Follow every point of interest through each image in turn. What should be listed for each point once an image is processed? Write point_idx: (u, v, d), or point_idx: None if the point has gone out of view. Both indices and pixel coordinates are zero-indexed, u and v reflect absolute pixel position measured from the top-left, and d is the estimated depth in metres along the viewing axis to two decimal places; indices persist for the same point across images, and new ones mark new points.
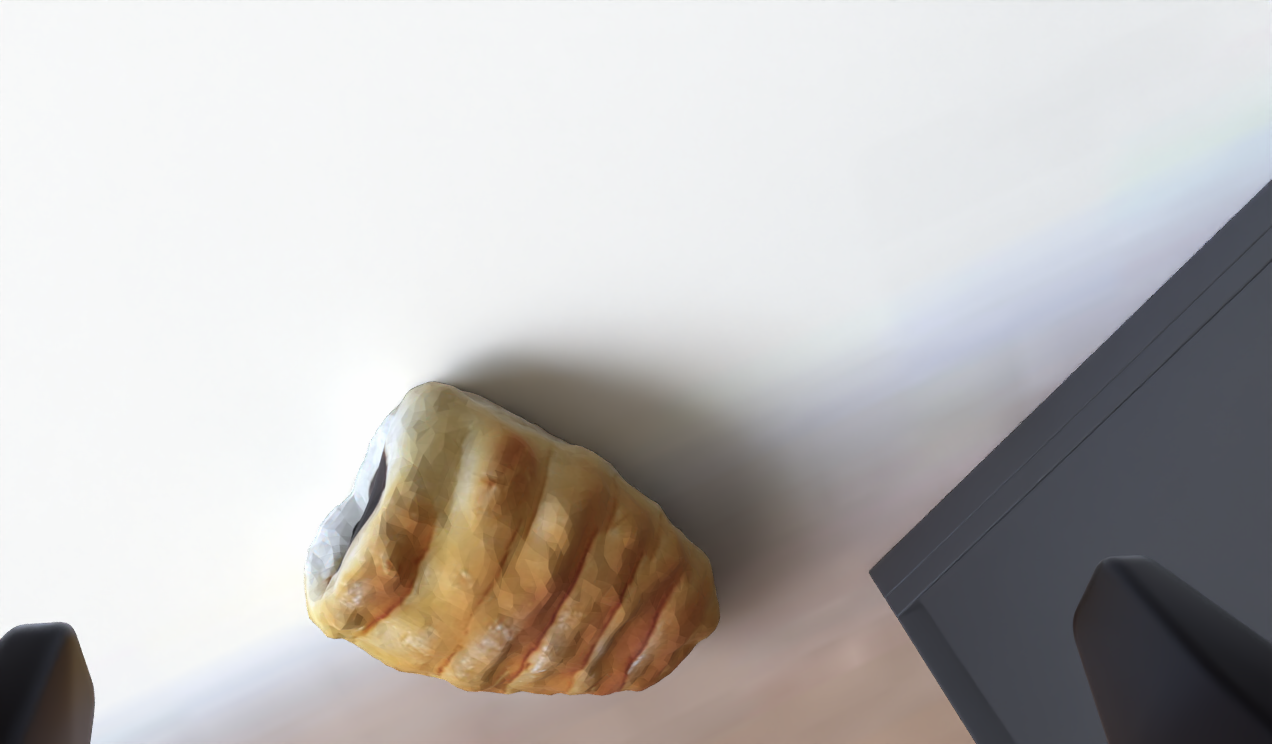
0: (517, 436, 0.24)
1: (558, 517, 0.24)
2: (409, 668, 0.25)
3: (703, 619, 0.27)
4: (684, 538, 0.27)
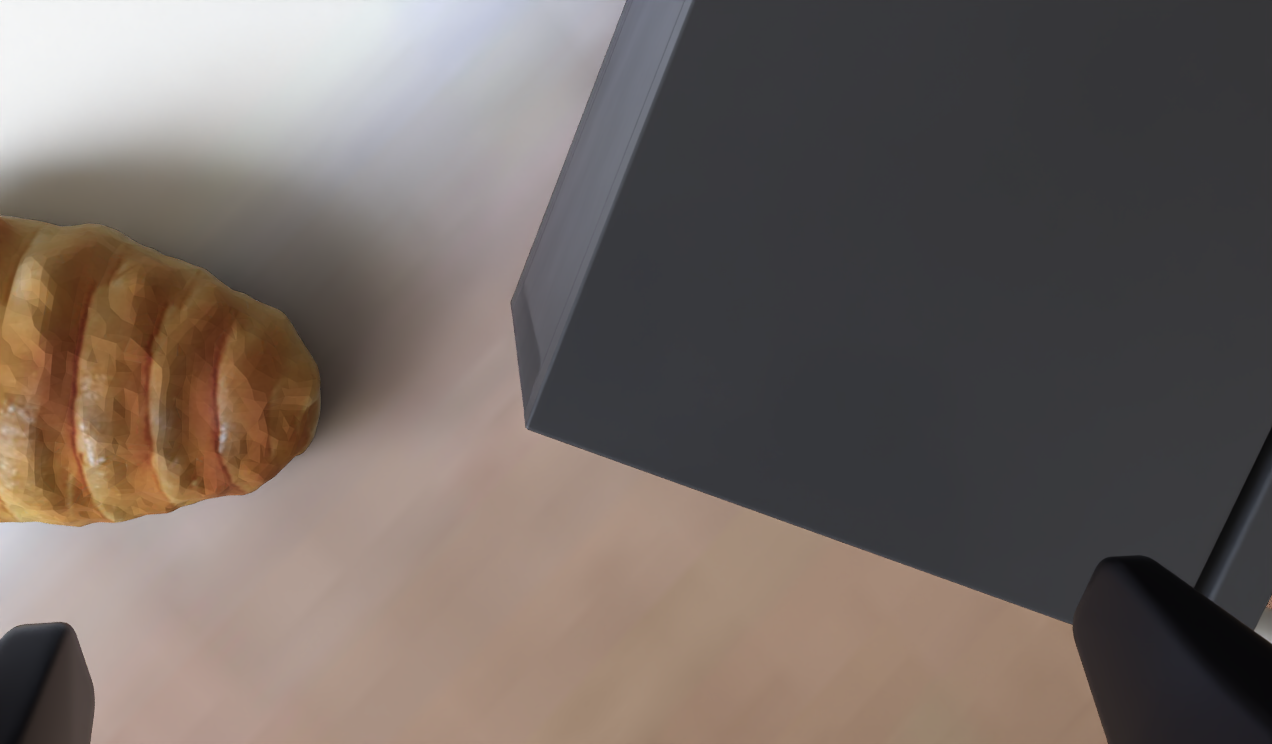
0: None
1: (33, 272, 0.22)
2: None
3: (284, 371, 0.24)
4: (244, 296, 0.25)
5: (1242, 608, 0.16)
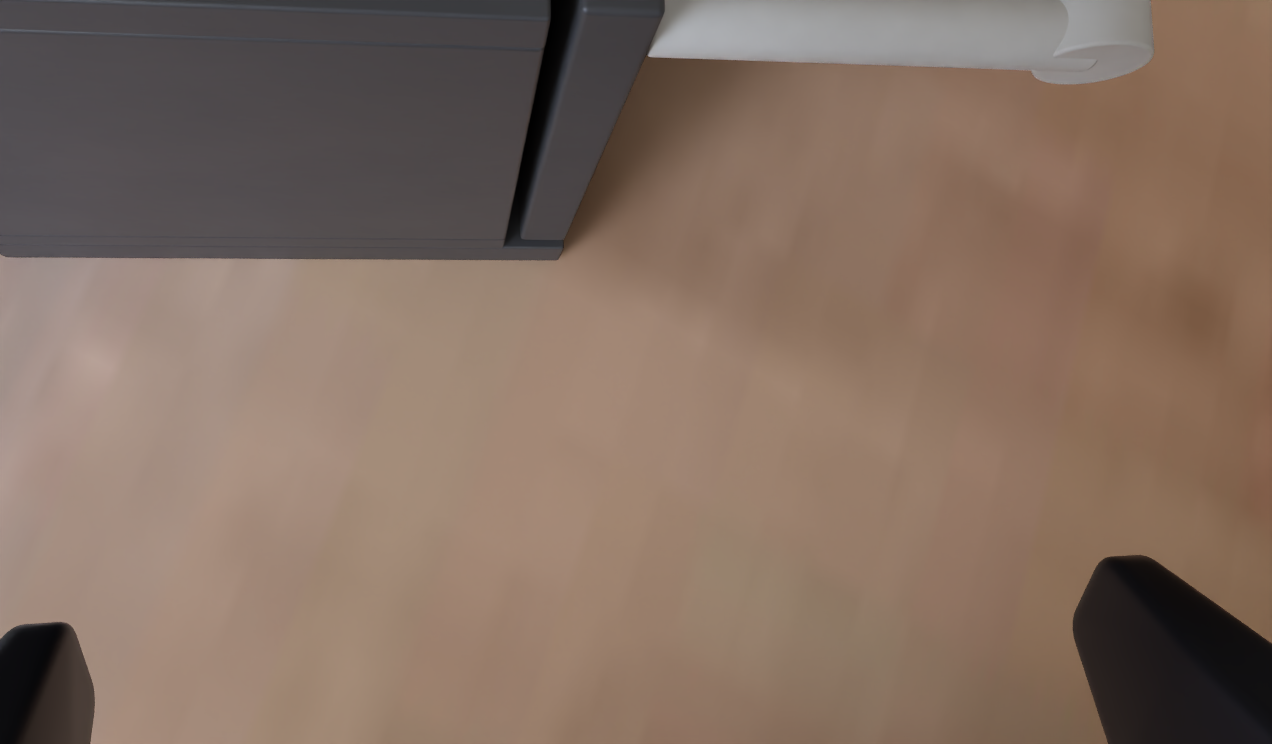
0: None
1: None
2: None
3: None
4: None
5: None
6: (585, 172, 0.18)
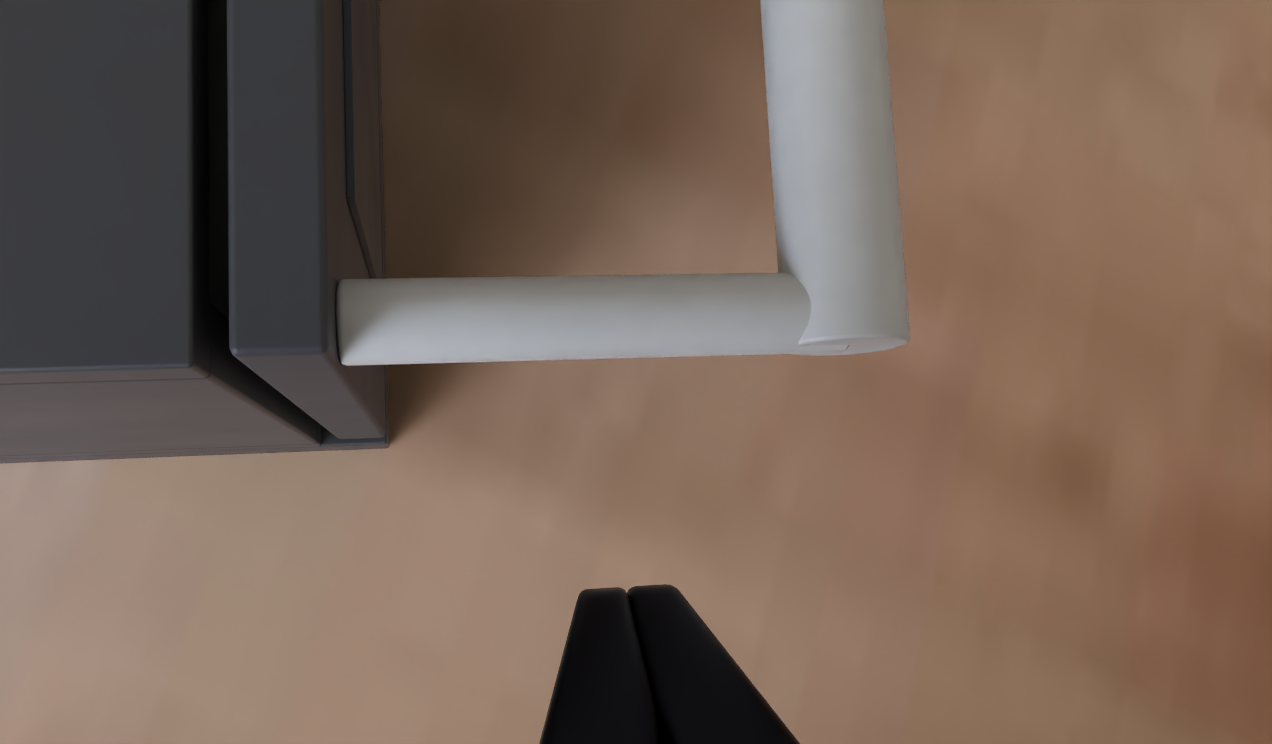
0: None
1: None
2: None
3: None
4: None
5: (285, 252, 0.11)
6: (357, 413, 0.16)
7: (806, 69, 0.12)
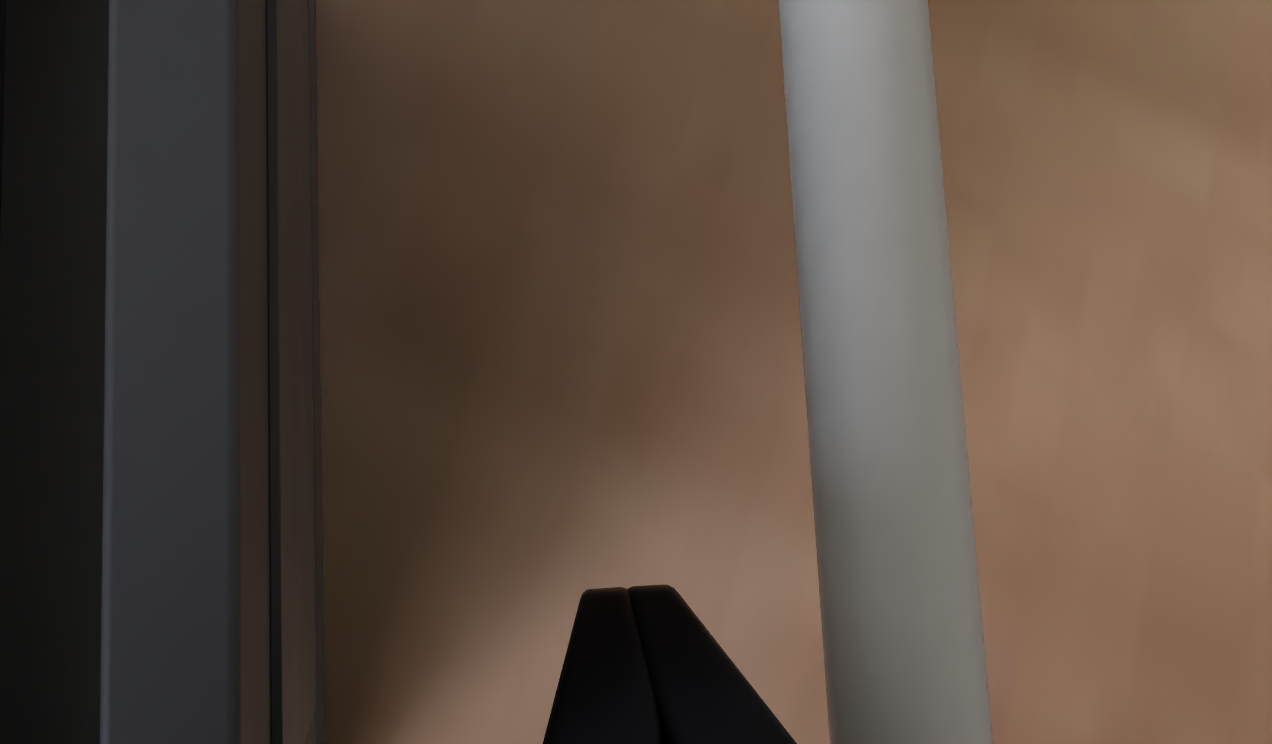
0: None
1: None
2: None
3: None
4: None
5: None
6: None
7: (886, 685, 0.10)
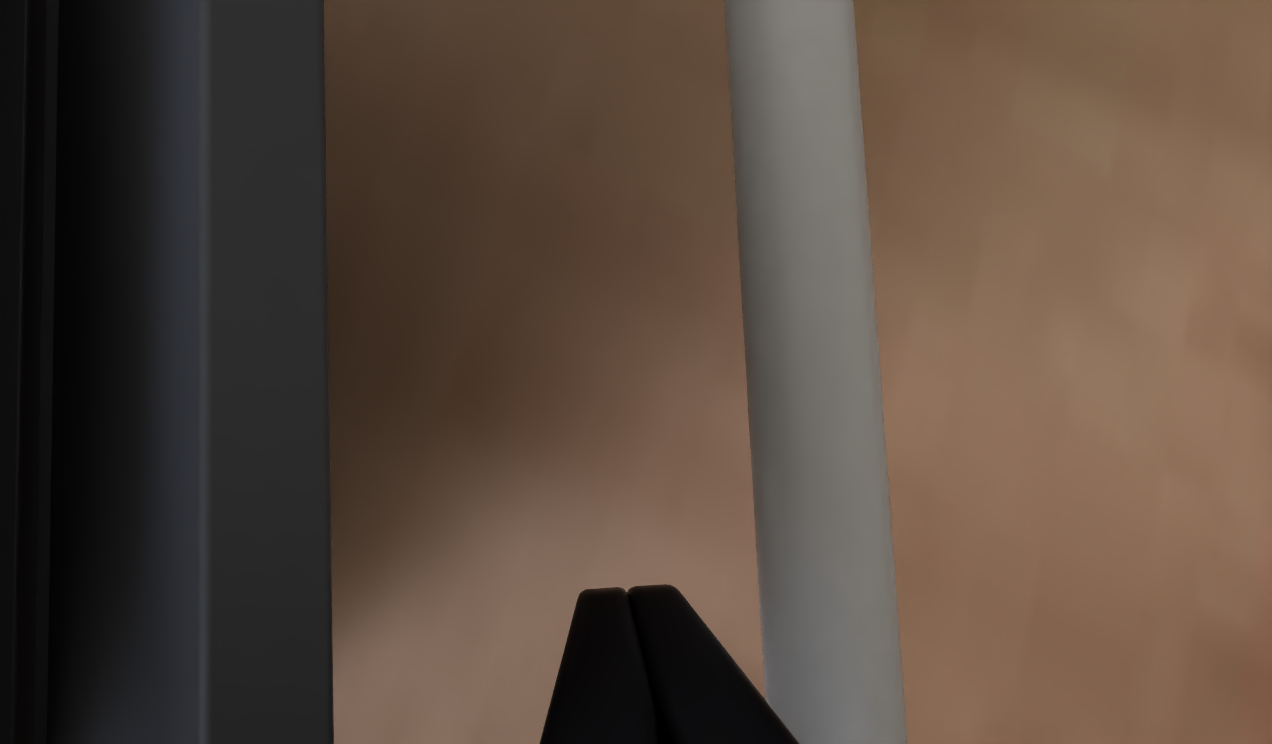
0: None
1: None
2: None
3: None
4: None
5: None
6: None
7: (833, 649, 0.11)
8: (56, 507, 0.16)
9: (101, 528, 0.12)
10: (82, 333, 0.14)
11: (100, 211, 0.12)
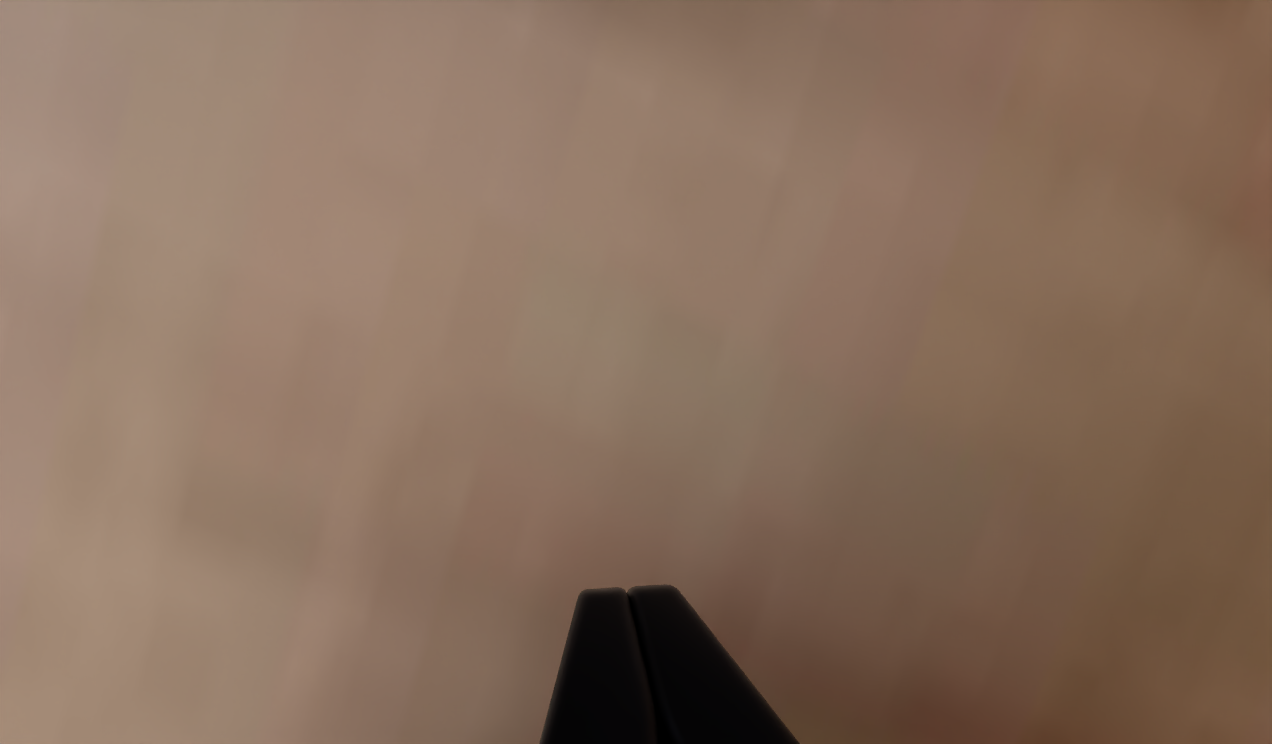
0: None
1: None
2: None
3: None
4: None
5: None
6: None
7: None
8: None
9: None
10: None
11: None
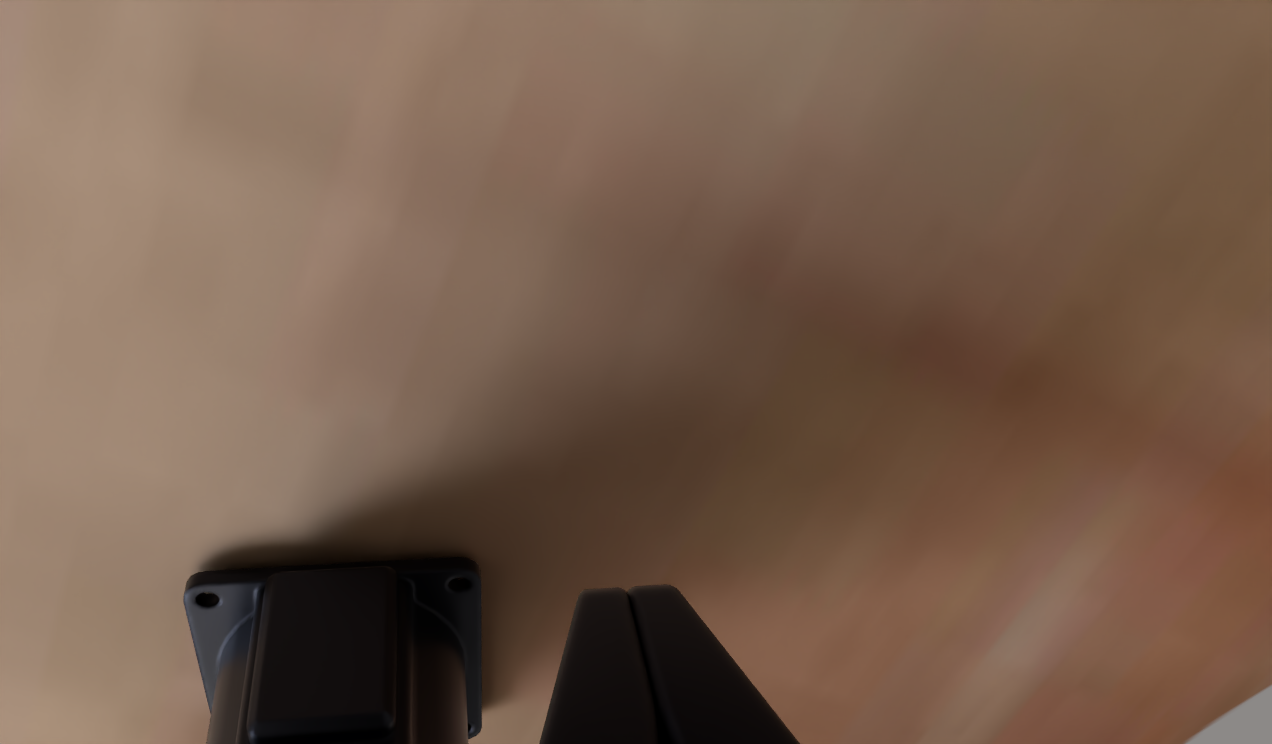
0: None
1: None
2: None
3: None
4: None
5: None
6: None
7: None
8: None
9: None
10: None
11: None
